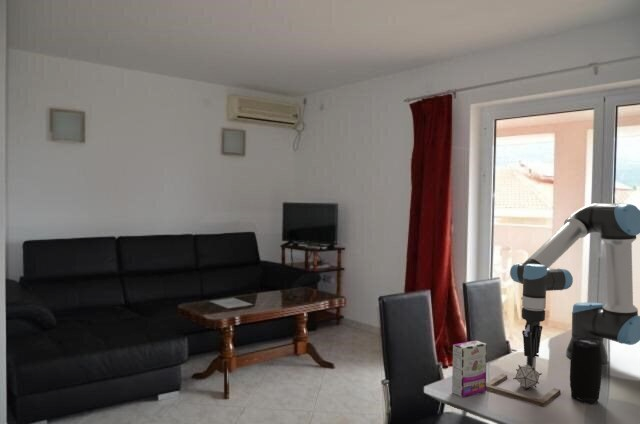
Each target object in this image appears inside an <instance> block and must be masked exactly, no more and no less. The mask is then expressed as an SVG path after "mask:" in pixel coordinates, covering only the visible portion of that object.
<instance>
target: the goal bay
mask: <svg viewBox="0 0 640 424" xmlns="http://www.w3.org/2000/svg"><path fill="white" fill-rule="evenodd" d="M507 379H508V375H507V374H504V373H501V374H499V375H497V376H496V377H494V378H492V379H490V380H488V381H486V391H490V392H492V393H497V394H499V395H503V396H507V397H509V398H513V399H516V400H519V401H522V402H526V403H529V404H532V405H535V406H539V407H545V406H546V405H547V404H549V403H550V402H551V401H553V400H554V399H555V398H556V397H558V396H559V395H560V394H561V389H559V388H556V387H554V388H552V389H551V390H549V391H548V392H547V393H545V394H544V395H543V396H541V397H540V398H536V397H532V396H529V395H525V394H522V393H519V392H515V391H512V390H508V389H505V388H502V387H498V386H497V385H499V384H500V383H502V382H504V381H505V380H507Z"/></svg>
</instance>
